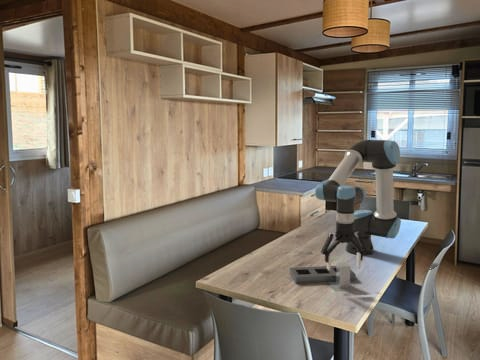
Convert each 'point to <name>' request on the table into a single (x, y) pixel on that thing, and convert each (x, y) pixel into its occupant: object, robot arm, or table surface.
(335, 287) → the slate pad
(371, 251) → the robot arm
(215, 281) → the table surface
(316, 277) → the grey slotted block
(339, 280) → the steel block
